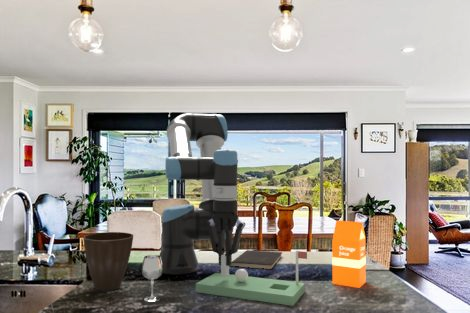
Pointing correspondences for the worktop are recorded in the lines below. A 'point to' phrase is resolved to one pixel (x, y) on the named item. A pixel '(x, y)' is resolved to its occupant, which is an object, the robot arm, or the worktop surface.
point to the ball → (241, 275)
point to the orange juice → (349, 254)
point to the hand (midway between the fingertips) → (225, 275)
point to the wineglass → (152, 272)
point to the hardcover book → (257, 259)
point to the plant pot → (107, 258)
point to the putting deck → (255, 287)
